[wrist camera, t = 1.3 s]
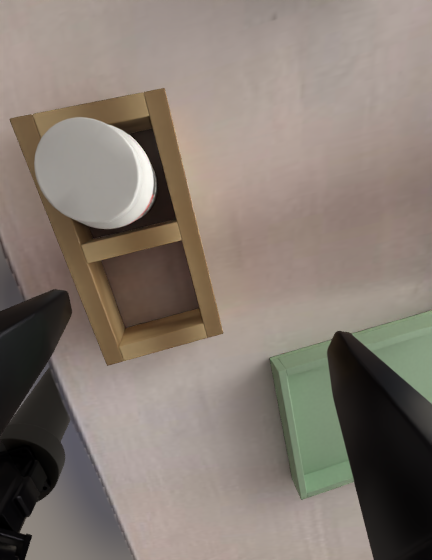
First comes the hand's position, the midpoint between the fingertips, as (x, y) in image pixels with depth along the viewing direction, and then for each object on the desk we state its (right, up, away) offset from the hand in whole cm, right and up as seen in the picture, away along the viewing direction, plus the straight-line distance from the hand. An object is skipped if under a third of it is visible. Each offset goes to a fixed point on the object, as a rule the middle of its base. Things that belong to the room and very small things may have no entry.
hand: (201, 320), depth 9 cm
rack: (-6, +5, +14) cm, 16 cm away
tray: (+21, -11, +23) cm, 34 cm away
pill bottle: (-7, +9, +13) cm, 17 cm away
